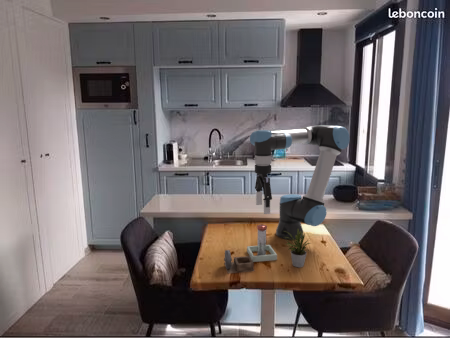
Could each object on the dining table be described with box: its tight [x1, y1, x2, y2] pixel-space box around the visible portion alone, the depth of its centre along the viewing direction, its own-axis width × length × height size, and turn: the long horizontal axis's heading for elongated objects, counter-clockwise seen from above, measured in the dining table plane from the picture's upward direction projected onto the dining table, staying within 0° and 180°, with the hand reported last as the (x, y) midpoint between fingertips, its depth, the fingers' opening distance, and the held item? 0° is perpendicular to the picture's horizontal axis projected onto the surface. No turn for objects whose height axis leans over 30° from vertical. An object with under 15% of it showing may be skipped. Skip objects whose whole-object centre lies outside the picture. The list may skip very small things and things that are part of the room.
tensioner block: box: [223, 249, 256, 274], centre depth 150 cm, size 13×10×10 cm
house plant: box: [284, 229, 312, 268], centre depth 155 cm, size 14×14×16 cm
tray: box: [246, 244, 278, 263], centre depth 162 cm, size 12×12×4 cm
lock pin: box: [256, 224, 268, 256], centre depth 161 cm, size 5×5×15 cm
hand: (262, 209), depth 158 cm, fingers open, 13 cm apart
